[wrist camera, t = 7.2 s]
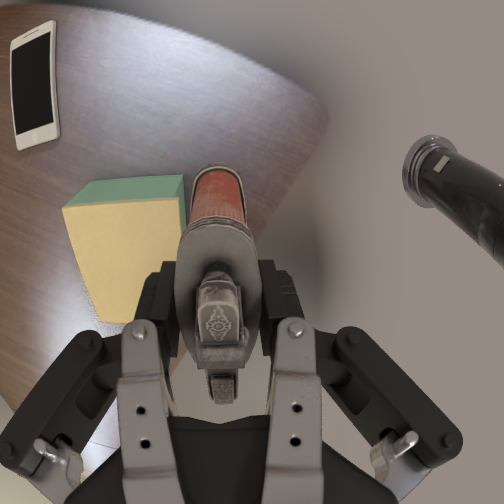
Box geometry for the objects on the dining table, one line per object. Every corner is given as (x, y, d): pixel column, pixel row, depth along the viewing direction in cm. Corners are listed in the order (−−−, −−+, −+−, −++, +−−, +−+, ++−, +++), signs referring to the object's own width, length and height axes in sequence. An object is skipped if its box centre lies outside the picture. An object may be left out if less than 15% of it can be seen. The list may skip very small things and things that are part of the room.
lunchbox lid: (179, 196, 24) (178, 200, 23) (192, 319, 33) (192, 324, 32) (65, 204, 23) (61, 208, 22) (101, 317, 31) (100, 322, 31)
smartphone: (21, 149, 24) (17, 151, 23) (14, 41, 15) (10, 41, 14) (61, 136, 24) (57, 138, 24) (57, 20, 16) (53, 19, 15)
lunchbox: (183, 174, 30) (174, 196, 24) (191, 283, 38) (188, 319, 33) (90, 181, 28) (65, 204, 23) (114, 283, 37) (102, 317, 31)
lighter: (187, 163, 15) (144, 278, 6) (248, 162, 15) (286, 275, 7) (195, 278, 19) (187, 415, 11) (244, 277, 19) (261, 413, 11)
